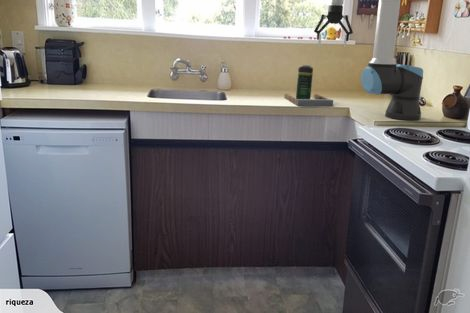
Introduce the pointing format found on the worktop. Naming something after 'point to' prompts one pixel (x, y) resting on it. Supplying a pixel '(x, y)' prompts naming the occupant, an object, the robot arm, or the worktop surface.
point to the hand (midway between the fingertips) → (331, 46)
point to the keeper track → (293, 100)
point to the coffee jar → (304, 82)
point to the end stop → (314, 102)
